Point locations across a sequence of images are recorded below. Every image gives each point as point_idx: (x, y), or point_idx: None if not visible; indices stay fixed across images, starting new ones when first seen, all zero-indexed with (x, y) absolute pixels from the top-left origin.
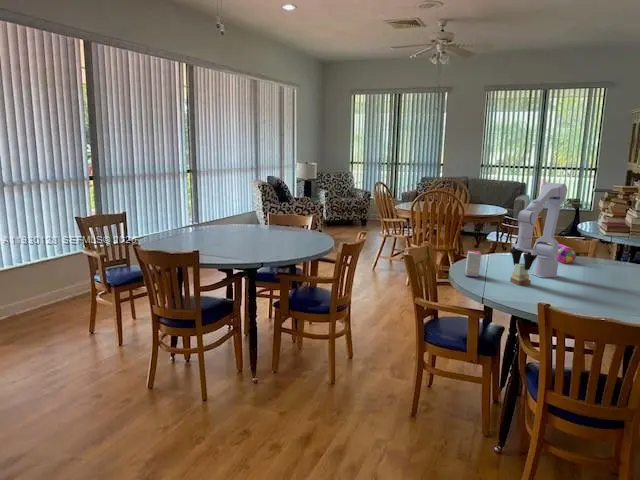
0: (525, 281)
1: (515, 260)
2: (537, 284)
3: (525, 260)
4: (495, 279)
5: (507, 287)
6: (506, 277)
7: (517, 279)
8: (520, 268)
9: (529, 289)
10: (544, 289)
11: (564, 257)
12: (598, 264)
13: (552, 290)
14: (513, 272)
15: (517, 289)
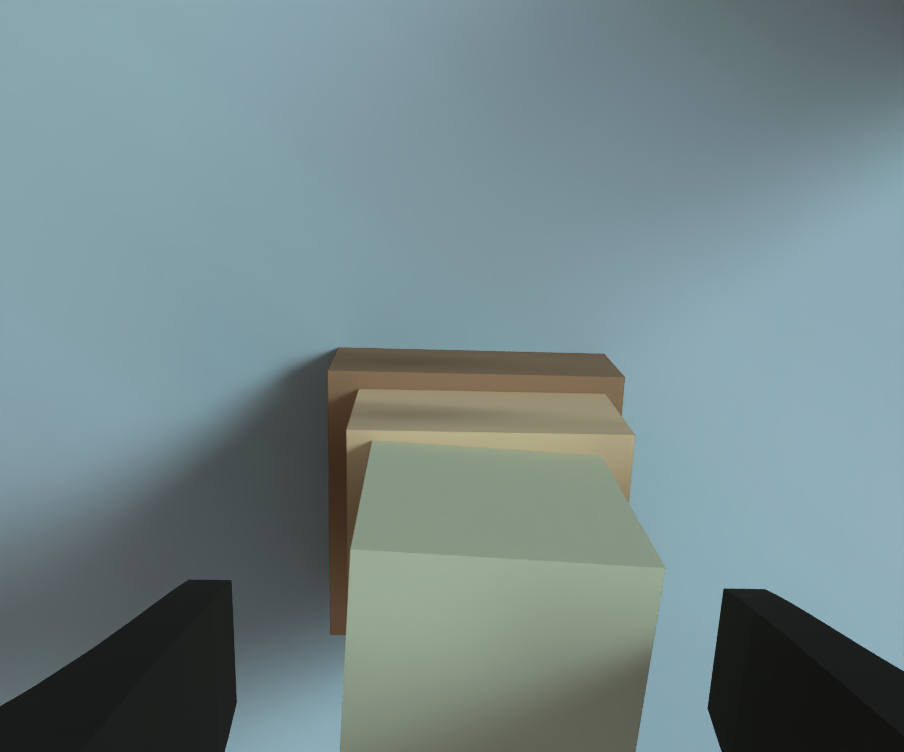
0: (330, 515)
1: (799, 704)
2: None
3: (14, 743)
4: (822, 145)
5: (248, 11)
6: (867, 470)
7: (410, 392)
8: (357, 526)
9: (73, 384)
10: (53, 645)
11: None
12: None
13: None
14: (607, 444)
15: (92, 139)
